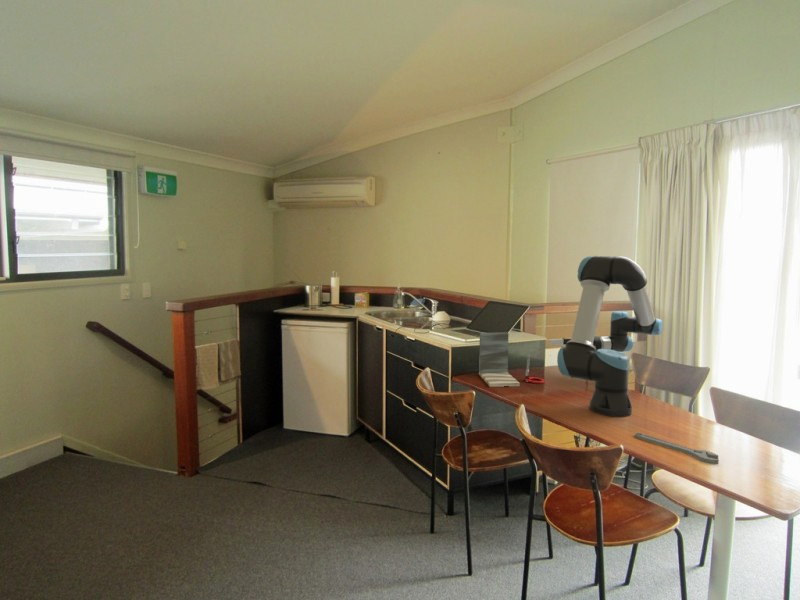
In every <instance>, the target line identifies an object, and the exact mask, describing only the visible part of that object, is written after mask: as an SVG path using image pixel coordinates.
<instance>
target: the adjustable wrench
mask: <svg viewBox="0 0 800 600" xmlns="http://www.w3.org/2000/svg"><path fill="white" fill-rule="evenodd" d="M634 437H635V439H640V440H642V441H645V442H648V443H652V444H655V445H658V446H661V447H664V448H667V449H670V450H673V451H677V452H680V453H683V454H686V455H689V456H691V457H692V458H695V459H696V460H698V461H700V462H703V463H705V464H710V465H719V455H718V454H716V453H715V452H711V451H709V450H706V449H696V448H695V449H694V448H691V447H690V448H689V447H687V446H683V445H680V444H677V443H673V442H671V441H667V440H664V439H662V438H661V439H660V438H658V437H654V436H651V435H648V434H644V433H642V432H635V433H634Z"/></svg>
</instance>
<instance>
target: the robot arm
mask: <svg viewBox="0 0 800 600" xmlns="http://www.w3.org/2000/svg"><path fill="white" fill-rule="evenodd" d="M577 268H578V269H577V279H578V282H580V286H581V287H582V292H581V295H580V300H579V304H578V310H577V313H576V318H575V321H574V325H573V331H572V334H571V338H565V337H562V338H561V339H560V338H559V339H558V338H557V339H556V338H555V339H549V345H550V346H560V349H559V350H558V353H557V356H556V357H557V359H556V361H557V367H558V371H559V372H560V374H561V375H562V376H565V377H568V378H571V379H574V378H575V379H580V380H585V381H589V382H590V381H591V382H594V383H595V384H594V391H593V394H592V395H591V398H590V401H589V410H591V411H592V412H594V413H597V414H600V415H603V416H606V417H607V416H609V417H627V416H630V415H632V413H633V412H632V411H633V408H632V407H633V406H632V403H631V400H630V396H629V394H628V391H629V389H628V388H629V371H630V366H629V365H630V364H629V363H630V362H629V361H630V358H629V357H628V355H626V354H625V353H624V352H630V351H631V350H632V349H633V347H634V346H633V345H634V343H633V339H632V337H631V336H630V335H628V333H630V334H631V333H632V334H640V335H641V334H642V335H649V336H660V335H661V334H662V332H663V329H664V328H663V327H664V322H663V320H662V319H660V318H657V317H656V316H655V313H654V311H653V306H652V303H651V299H650V296H649V292H648V289H647V284H648V279H647V275H646V273H645V272H644V269H643V268H642V267H641V266H640V265H639V264H638V263H636V262H635V261H634V260H632V259H630V258H629V257H626V256H621V255H620V256H619V255H617V256H609V255H607V256H598V255H593V256H586V257H584V258H583V259H582V260H581V262H579V265H578V267H577ZM611 285H621V286H622V288H623V289H624V290H625V291H626V292H627V296H628V298H629V302H630V305H631V307H632V310H633V313H634V315H635V316H629V312H628V311H622V310H621V311H619V310H618V311H616V310H615V311H612V312H611V317H610V329H609V330H610V332H609V335H605V336H604V335H603V336H602V335H601V336H596V332H597V327H598V324H599V319H600V314H601V310H602V309H601V308H602V304H603V300H604V295H605V292H607V291H609V290H610V287H611Z"/></svg>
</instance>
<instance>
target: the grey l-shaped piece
mask: <svg viewBox="0 0 800 600" xmlns="http://www.w3.org/2000/svg"><path fill="white" fill-rule="evenodd" d="M509 335H510V334H509V332H504V331H503V332H479V349H478V350H479V354H478V356H479V357H478V359H479V360H478V364H479V365H478V374H479V376H480V377H481V379H483V381H484V382H485V383H486V384H487V385H488V387H489V388H501V387H504V386H509V387H521V385H520V384H521V383H520V382H519V380H517V379H516V378H515V377H513V375H511V374H510V373H509V369H508V368H509ZM504 388H505V387H504Z"/></svg>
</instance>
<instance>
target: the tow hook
mask: <svg viewBox="0 0 800 600" xmlns="http://www.w3.org/2000/svg"><path fill="white" fill-rule="evenodd" d="M530 361H531V359H530V354H527V359H526V370H525V375H524V376H525V377H524V382H525V383H526V382H528V383H531V382H532V383H531V384H536V383H542V384H545V383H546V380H545V379H544V378H540V377H536V376H533V377H532V376H530ZM531 379H532V380H531ZM535 379H539V380H535ZM540 380H541V381H540ZM544 382H545V383H544Z"/></svg>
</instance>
